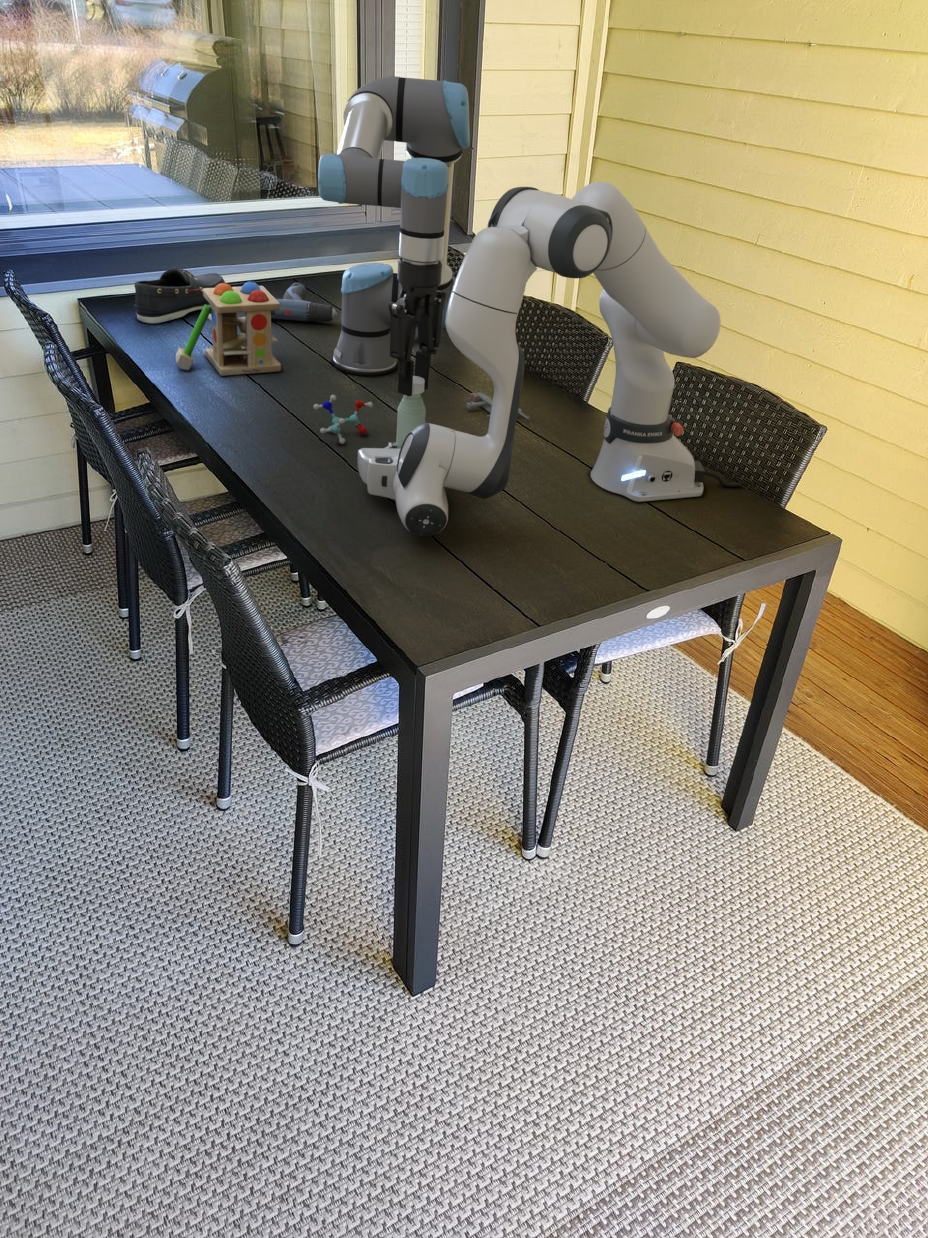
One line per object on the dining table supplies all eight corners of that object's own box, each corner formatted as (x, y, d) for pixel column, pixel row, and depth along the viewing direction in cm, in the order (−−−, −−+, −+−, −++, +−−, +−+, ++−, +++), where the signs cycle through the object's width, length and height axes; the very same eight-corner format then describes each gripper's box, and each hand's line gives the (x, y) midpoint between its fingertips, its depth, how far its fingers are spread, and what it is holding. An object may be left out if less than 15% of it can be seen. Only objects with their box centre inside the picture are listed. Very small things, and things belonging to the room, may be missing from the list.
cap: (397, 390, 179) (397, 379, 178) (410, 384, 182) (410, 373, 181) (415, 396, 177) (416, 385, 176) (428, 390, 180) (429, 379, 179)
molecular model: (360, 436, 195) (343, 387, 193) (320, 451, 198) (303, 403, 197) (383, 432, 205) (367, 385, 204) (345, 446, 209) (329, 401, 207)
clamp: (458, 394, 221) (496, 389, 226) (457, 403, 222) (495, 398, 227) (493, 419, 211) (531, 413, 215) (492, 429, 212) (530, 423, 216)
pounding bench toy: (183, 379, 220) (176, 299, 210) (169, 357, 231) (162, 280, 221) (282, 371, 230) (280, 294, 220) (264, 350, 240) (262, 276, 230)
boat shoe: (245, 302, 271) (243, 263, 266) (154, 325, 248) (149, 283, 242) (211, 293, 277) (208, 255, 272) (119, 316, 253) (114, 274, 248)
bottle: (394, 471, 192) (398, 375, 181) (420, 472, 192) (427, 377, 181) (394, 483, 187) (399, 386, 176) (421, 484, 188) (428, 388, 177)
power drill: (344, 304, 276) (335, 327, 259) (277, 298, 275) (264, 321, 258) (344, 285, 273) (335, 306, 256) (277, 279, 272) (264, 300, 255)
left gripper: (433, 246, 174) (425, 373, 187) (370, 262, 162) (366, 396, 176) (467, 256, 171) (457, 384, 184) (405, 272, 159) (399, 408, 172)
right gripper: (475, 463, 176) (464, 431, 187) (360, 461, 172) (356, 429, 183) (471, 495, 179) (461, 462, 190) (359, 494, 176) (355, 460, 187)
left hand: (412, 390), depth 180 cm, fingers closed on cap, 4 cm apart
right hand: (408, 446), depth 187 cm, fingers closed on bottle, 5 cm apart
